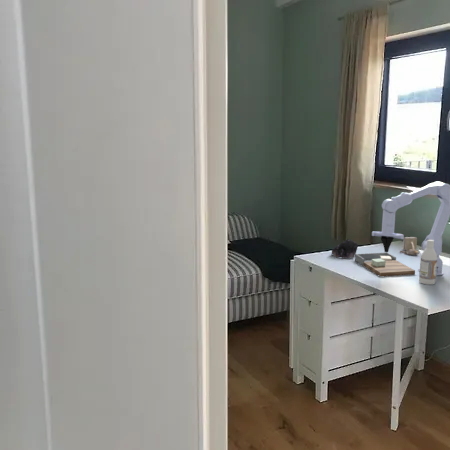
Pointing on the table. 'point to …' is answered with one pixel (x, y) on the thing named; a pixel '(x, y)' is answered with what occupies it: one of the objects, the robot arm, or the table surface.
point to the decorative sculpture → (410, 246)
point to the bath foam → (428, 264)
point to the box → (371, 257)
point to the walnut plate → (390, 269)
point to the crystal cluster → (345, 249)
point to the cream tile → (386, 258)
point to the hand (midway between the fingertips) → (386, 251)
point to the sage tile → (378, 262)
